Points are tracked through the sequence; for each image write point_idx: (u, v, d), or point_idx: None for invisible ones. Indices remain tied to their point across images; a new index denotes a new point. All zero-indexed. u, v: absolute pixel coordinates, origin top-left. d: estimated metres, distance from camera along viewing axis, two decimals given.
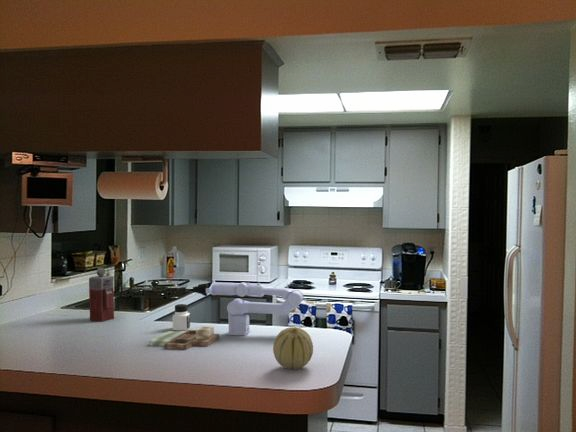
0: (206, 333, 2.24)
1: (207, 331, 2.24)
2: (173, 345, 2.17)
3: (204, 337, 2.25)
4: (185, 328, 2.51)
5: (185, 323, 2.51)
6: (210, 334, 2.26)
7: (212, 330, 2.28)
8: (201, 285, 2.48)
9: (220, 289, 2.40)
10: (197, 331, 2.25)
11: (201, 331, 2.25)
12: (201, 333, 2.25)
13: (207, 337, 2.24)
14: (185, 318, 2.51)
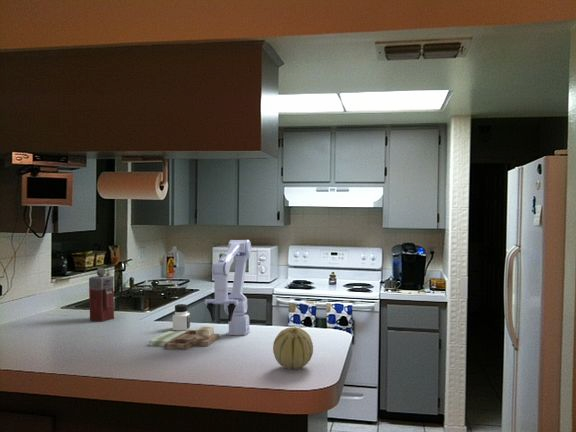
0: (206, 333, 2.24)
1: (207, 331, 2.24)
2: (173, 345, 2.17)
3: (204, 337, 2.25)
4: (185, 328, 2.51)
5: (185, 323, 2.51)
6: (210, 334, 2.26)
7: (212, 330, 2.28)
8: (213, 317, 2.26)
9: (227, 291, 2.25)
10: (197, 331, 2.25)
11: (201, 331, 2.25)
12: (201, 333, 2.25)
13: (207, 337, 2.24)
14: (185, 318, 2.51)
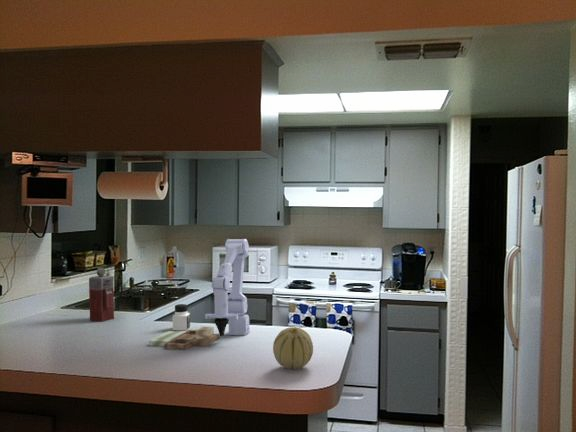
0: (206, 333, 2.24)
1: (207, 331, 2.24)
2: (173, 345, 2.17)
3: (204, 337, 2.25)
4: (185, 328, 2.51)
5: (185, 323, 2.51)
6: (210, 334, 2.26)
7: (212, 330, 2.28)
8: None
9: (227, 306, 2.25)
10: (197, 331, 2.25)
11: (201, 331, 2.25)
12: (201, 333, 2.25)
13: (207, 337, 2.24)
14: (185, 318, 2.51)
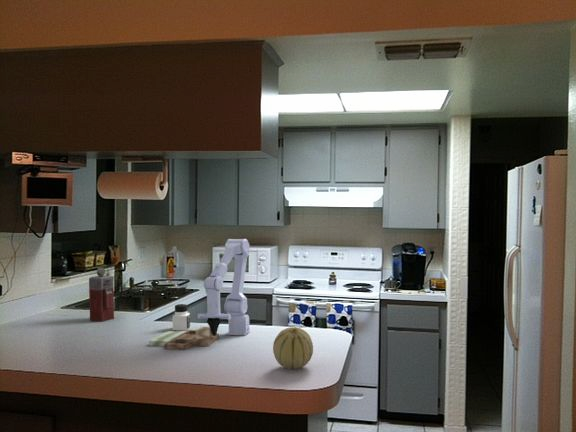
0: (206, 333, 2.24)
1: (207, 331, 2.24)
2: (173, 345, 2.17)
3: (204, 337, 2.25)
4: (185, 328, 2.51)
5: (185, 323, 2.51)
6: (210, 334, 2.26)
7: None
8: None
9: (219, 305, 2.26)
10: (197, 331, 2.25)
11: (201, 331, 2.25)
12: (201, 333, 2.25)
13: (207, 337, 2.24)
14: (185, 318, 2.51)
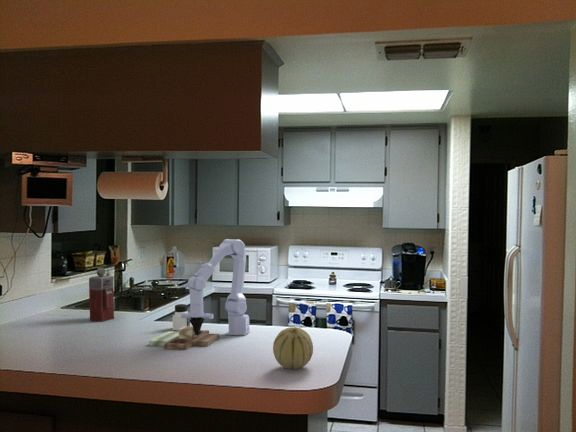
0: (189, 333, 2.26)
1: (190, 331, 2.26)
2: (173, 345, 2.17)
3: (187, 337, 2.26)
4: None
5: (185, 323, 2.51)
6: (193, 334, 2.27)
7: None
8: None
9: (202, 305, 2.27)
10: (180, 331, 2.27)
11: (184, 331, 2.26)
12: (184, 333, 2.26)
13: (190, 337, 2.26)
14: (185, 318, 2.51)
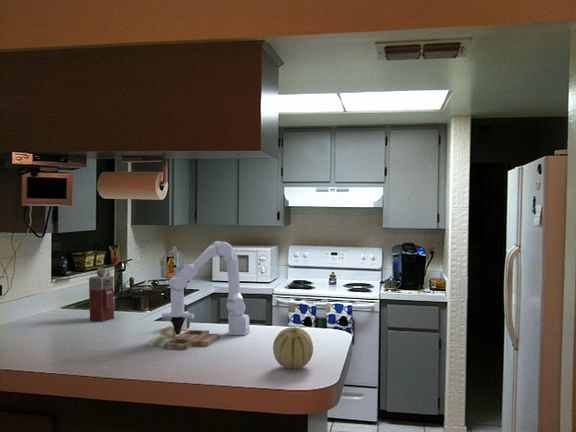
0: (169, 332, 2.28)
1: (170, 330, 2.28)
2: (173, 345, 2.17)
3: (168, 336, 2.28)
4: (185, 328, 2.51)
5: (185, 323, 2.51)
6: (174, 333, 2.29)
7: None
8: None
9: (183, 305, 2.29)
10: (161, 330, 2.29)
11: (165, 330, 2.28)
12: (164, 332, 2.28)
13: (170, 336, 2.28)
14: (185, 318, 2.51)
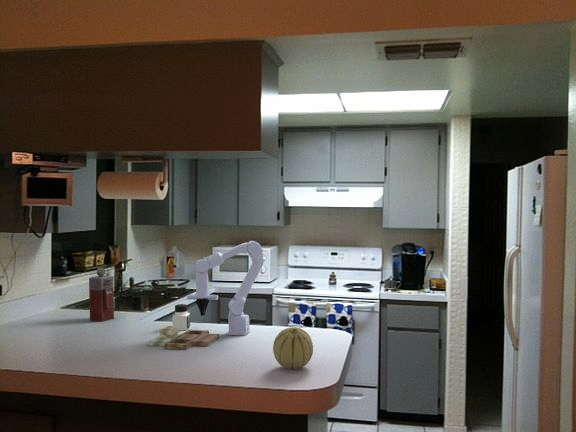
0: (169, 332, 2.28)
1: (170, 330, 2.28)
2: (173, 345, 2.17)
3: (168, 336, 2.28)
4: (185, 328, 2.51)
5: (185, 323, 2.51)
6: (174, 333, 2.29)
7: (176, 329, 2.32)
8: None
9: (208, 287, 2.39)
10: (161, 330, 2.29)
11: (165, 330, 2.28)
12: (164, 332, 2.28)
13: (170, 336, 2.28)
14: (185, 318, 2.51)
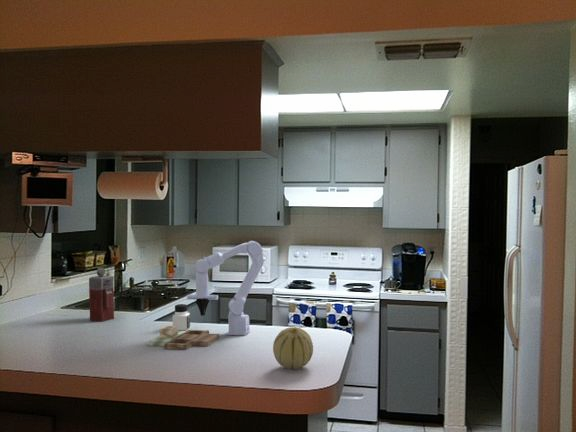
0: (169, 332, 2.28)
1: (170, 330, 2.28)
2: (173, 345, 2.17)
3: (168, 336, 2.28)
4: (185, 328, 2.51)
5: (185, 323, 2.51)
6: (174, 333, 2.29)
7: (176, 329, 2.32)
8: None
9: (208, 287, 2.39)
10: (161, 330, 2.29)
11: (165, 330, 2.28)
12: (164, 332, 2.28)
13: (170, 336, 2.28)
14: (185, 318, 2.51)
